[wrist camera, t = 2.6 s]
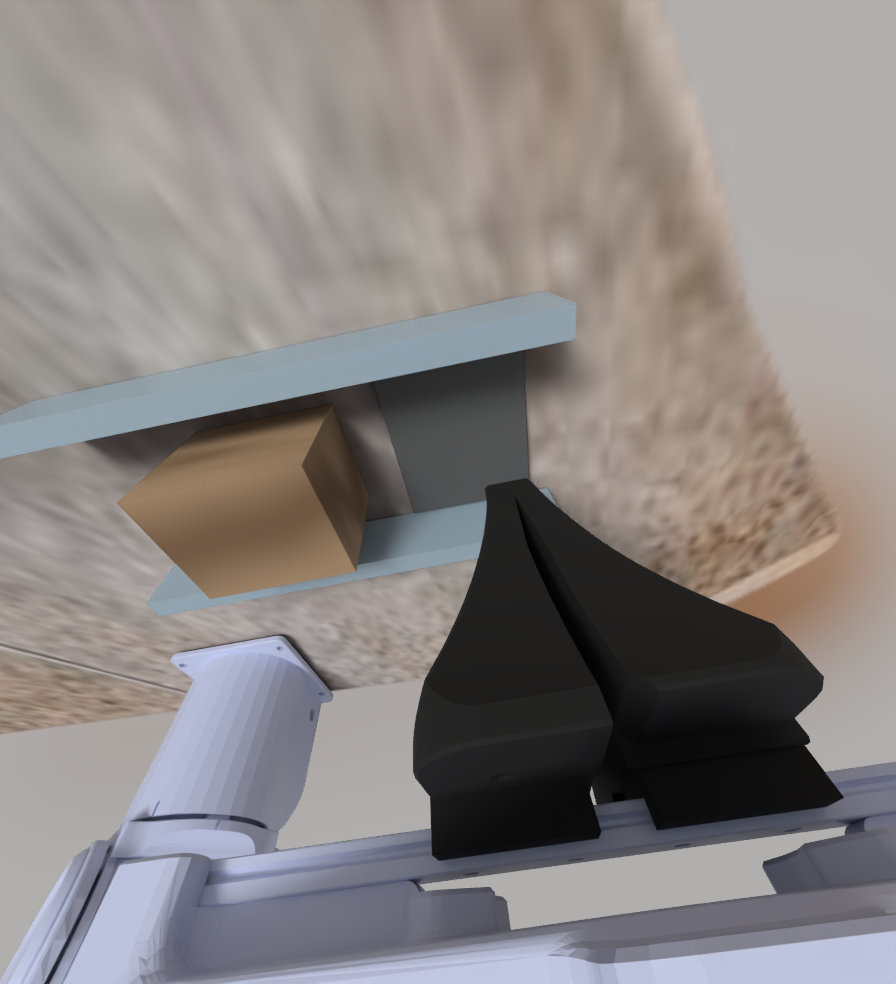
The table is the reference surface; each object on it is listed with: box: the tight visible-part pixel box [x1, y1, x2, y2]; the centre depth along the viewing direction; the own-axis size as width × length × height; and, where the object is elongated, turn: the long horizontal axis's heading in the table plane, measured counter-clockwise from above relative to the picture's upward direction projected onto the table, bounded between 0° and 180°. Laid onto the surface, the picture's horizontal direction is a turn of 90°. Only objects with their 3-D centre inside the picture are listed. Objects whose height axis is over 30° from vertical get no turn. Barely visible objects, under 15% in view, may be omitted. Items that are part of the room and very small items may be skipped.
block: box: [117, 404, 369, 599], centre depth 14 cm, size 5×6×5 cm
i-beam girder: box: [0, 291, 577, 616], centre depth 15 cm, size 10×20×3 cm, turn 100°
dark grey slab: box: [373, 350, 529, 513], centre depth 16 cm, size 8×6×1 cm
